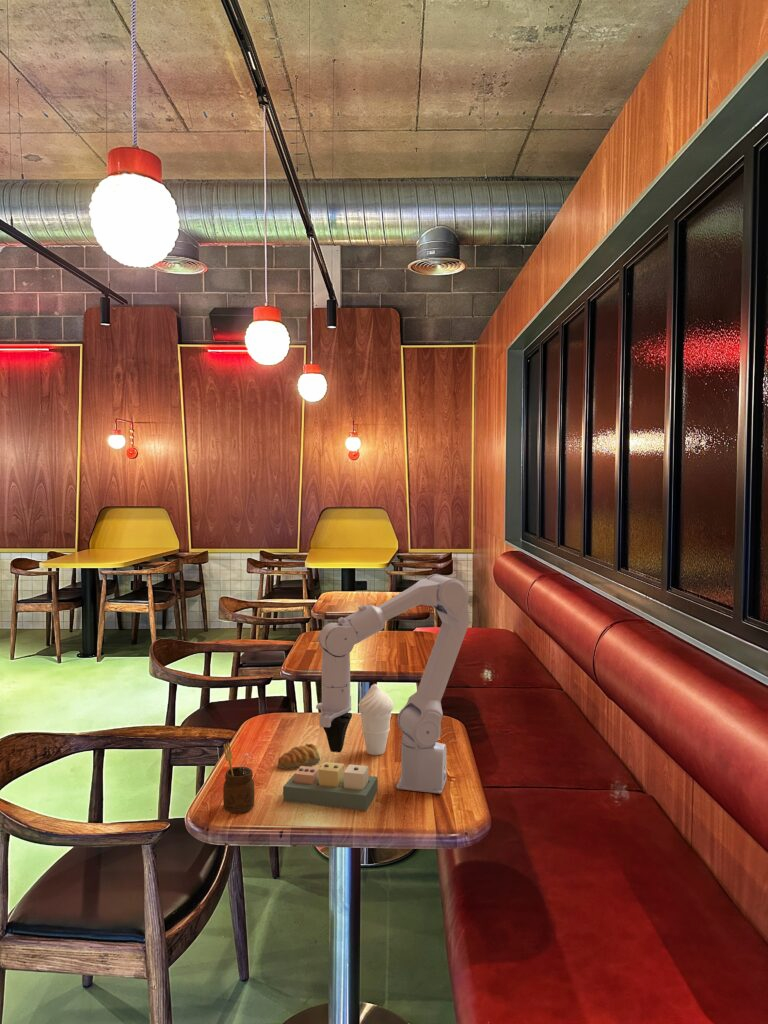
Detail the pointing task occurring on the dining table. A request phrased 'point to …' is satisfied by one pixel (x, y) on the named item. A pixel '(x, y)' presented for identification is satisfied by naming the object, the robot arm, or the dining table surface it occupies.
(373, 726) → the soft serve ice cream cone
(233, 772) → the utensil holder
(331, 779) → the toy block
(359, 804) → the toy block sorting board
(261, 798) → the dining table surface
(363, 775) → the toy block
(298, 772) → the toy block
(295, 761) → the pastry
